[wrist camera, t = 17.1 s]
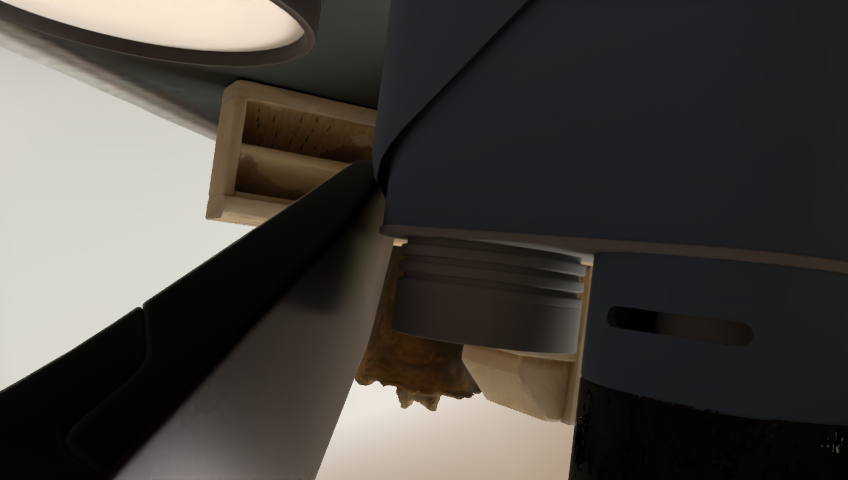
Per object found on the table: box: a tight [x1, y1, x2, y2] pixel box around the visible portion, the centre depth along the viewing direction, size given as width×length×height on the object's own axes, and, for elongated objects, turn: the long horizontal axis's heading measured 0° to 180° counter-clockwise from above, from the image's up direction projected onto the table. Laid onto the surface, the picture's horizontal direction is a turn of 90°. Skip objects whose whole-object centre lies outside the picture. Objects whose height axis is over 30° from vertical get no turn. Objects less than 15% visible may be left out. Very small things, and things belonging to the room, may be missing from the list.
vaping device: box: [372, 0, 848, 480], centre depth 8 cm, size 3×5×12 cm, turn 131°
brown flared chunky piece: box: [355, 245, 482, 411], centre depth 67 cm, size 25×11×20 cm, turn 5°
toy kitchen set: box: [206, 80, 593, 425], centre depth 39 cm, size 18×17×15 cm
